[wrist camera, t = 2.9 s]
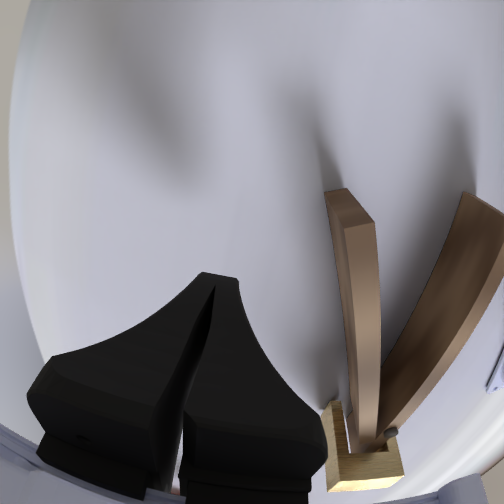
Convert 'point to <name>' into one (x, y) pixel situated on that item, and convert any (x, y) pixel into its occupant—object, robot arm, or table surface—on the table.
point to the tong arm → (358, 304)
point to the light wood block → (356, 458)
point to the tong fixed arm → (440, 317)
